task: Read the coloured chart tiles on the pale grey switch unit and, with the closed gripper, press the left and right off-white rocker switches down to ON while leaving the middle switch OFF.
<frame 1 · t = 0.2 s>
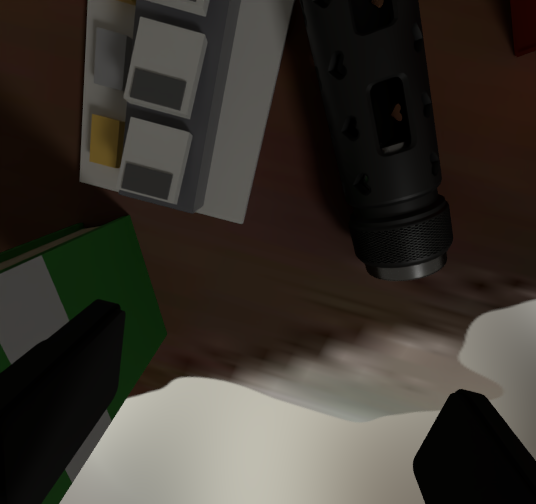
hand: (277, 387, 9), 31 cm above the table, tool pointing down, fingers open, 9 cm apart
hardback book: (124, 281, 43), on the table
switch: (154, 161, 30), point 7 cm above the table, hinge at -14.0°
muzzle brake: (366, 132, 35), on the table
switch middle: (165, 69, 27), point 7 cm above the table, hinge at -14.0°
switch unit: (181, 81, 34), on the table
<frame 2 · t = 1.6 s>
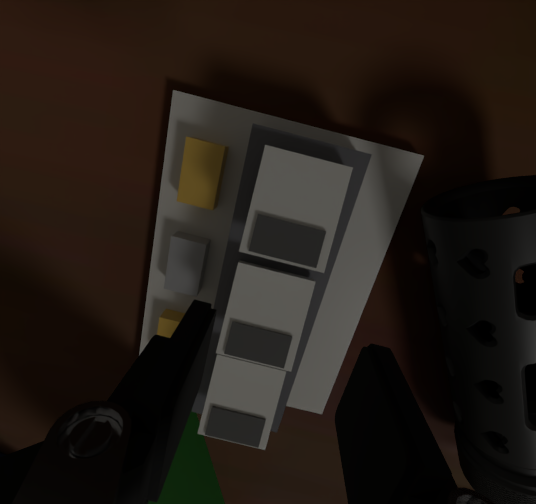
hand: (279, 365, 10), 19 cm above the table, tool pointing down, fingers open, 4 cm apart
hardback book: (180, 453, 39), on the table
muzzle brake: (470, 324, 31), on the table
switch middle: (265, 315, 23), point 7 cm above the table, hinge at -14.0°
switch unit: (260, 273, 30), on the table
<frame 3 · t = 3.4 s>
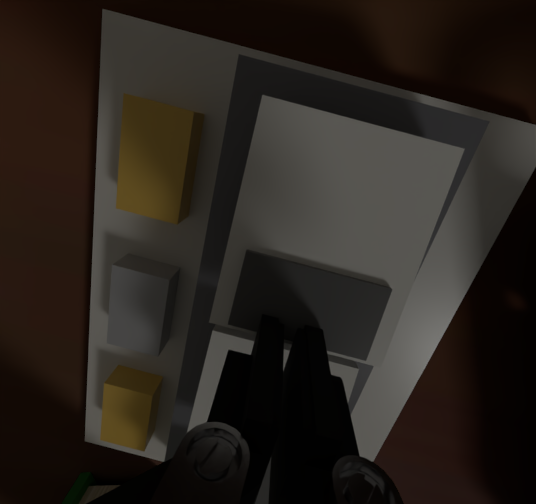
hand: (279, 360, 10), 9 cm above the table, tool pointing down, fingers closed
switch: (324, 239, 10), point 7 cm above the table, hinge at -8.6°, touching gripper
switch middle: (263, 422, 13), point 7 cm above the table, hinge at -14.0°
switch unit: (259, 315, 19), on the table
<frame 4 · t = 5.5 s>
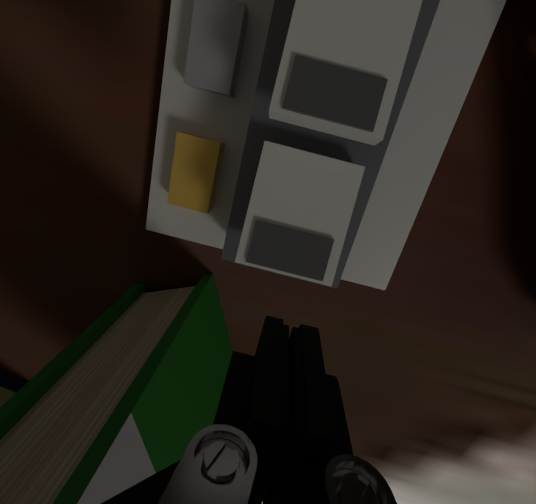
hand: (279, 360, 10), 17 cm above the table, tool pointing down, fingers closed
hardback book: (198, 359, 31), on the table
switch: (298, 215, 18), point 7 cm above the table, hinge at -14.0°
switch middle: (343, 56, 15), point 7 cm above the table, hinge at -14.0°
switch unit: (312, 80, 22), on the table
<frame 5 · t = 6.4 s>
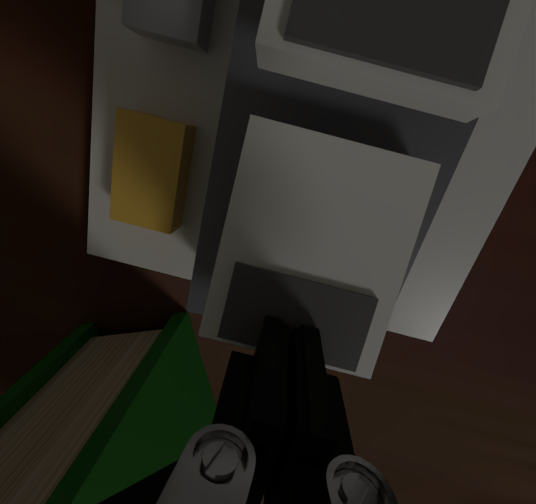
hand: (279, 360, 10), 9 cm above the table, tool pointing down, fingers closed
hardback book: (172, 418, 23), on the table
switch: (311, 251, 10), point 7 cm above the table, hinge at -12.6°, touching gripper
switch unit: (333, 25, 14), on the table
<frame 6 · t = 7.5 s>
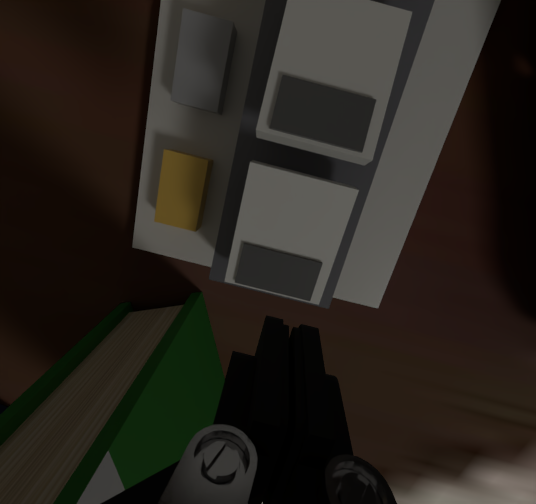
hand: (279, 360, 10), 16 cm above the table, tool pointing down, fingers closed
hardback book: (186, 380, 30), on the table
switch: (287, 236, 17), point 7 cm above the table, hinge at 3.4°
switch middle: (331, 76, 15), point 7 cm above the table, hinge at -14.0°
switch unit: (302, 97, 22), on the table
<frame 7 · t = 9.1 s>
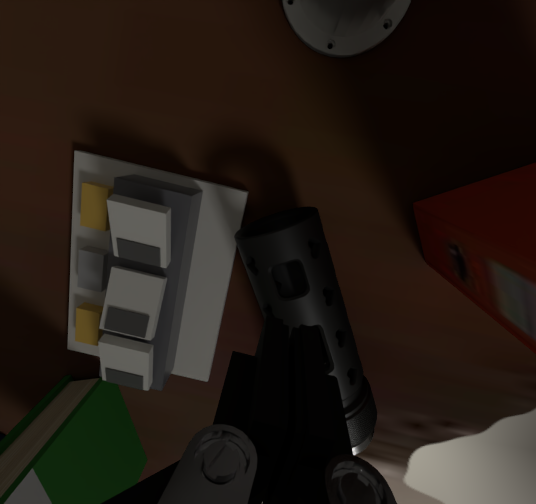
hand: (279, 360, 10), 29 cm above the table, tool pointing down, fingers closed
file binder: (494, 210, 36), on the table
hardback book: (108, 418, 49), on the table
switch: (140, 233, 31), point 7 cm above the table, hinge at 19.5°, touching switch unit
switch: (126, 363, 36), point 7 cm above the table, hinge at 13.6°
muzzle brake: (308, 311, 42), on the table
switch middle: (133, 303, 34), point 7 cm above the table, hinge at -14.0°
switch unit: (152, 275, 41), on the table
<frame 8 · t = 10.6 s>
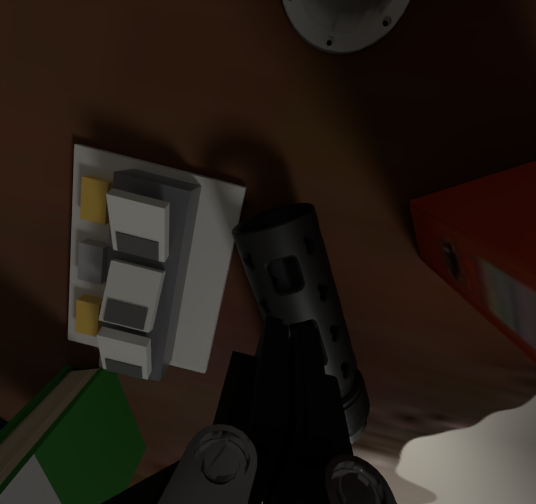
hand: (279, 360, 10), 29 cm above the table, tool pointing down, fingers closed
file binder: (490, 208, 36), on the table
hardback book: (108, 407, 50), on the table
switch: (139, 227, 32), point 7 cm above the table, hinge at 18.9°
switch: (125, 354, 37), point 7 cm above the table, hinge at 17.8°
muzzle brake: (305, 305, 42), on the table
switch middle: (132, 295, 35), point 7 cm above the table, hinge at -14.0°
switch unit: (151, 268, 41), on the table
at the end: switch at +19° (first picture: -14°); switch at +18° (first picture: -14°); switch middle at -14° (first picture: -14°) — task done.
